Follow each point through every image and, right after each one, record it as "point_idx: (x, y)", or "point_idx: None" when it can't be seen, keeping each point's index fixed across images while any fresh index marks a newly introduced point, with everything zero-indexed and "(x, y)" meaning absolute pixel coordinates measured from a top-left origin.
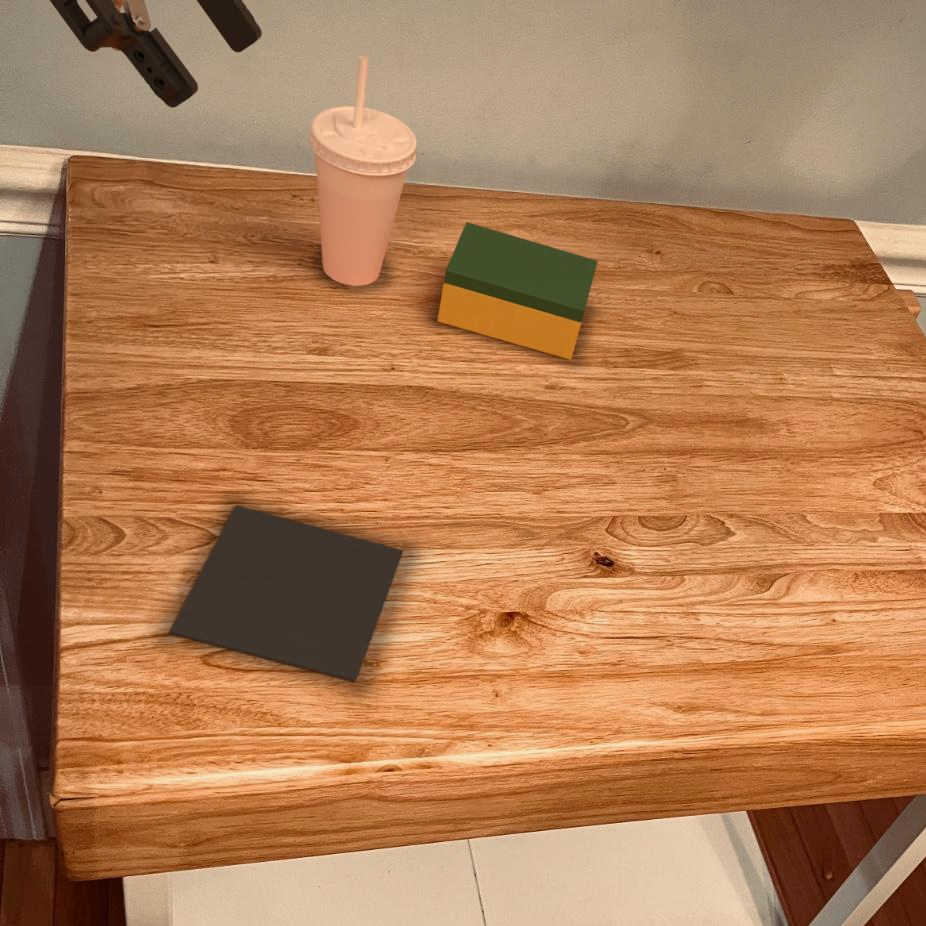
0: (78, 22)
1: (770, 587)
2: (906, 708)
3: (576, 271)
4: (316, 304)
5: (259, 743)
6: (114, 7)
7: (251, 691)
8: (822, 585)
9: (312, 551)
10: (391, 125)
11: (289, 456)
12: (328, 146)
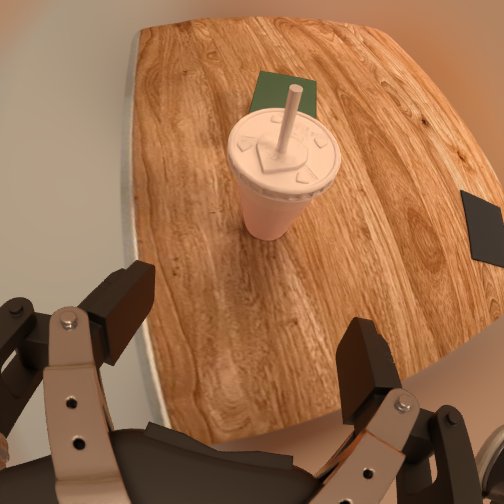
0: (423, 471)
1: (401, 80)
2: (420, 70)
3: (277, 79)
4: (319, 239)
5: None
6: (442, 434)
7: None
8: (390, 68)
9: (476, 224)
10: (255, 124)
11: (442, 239)
12: (334, 174)
